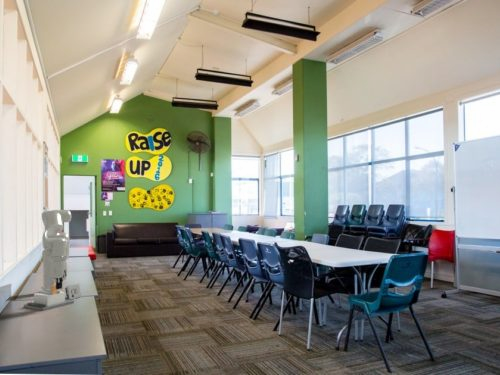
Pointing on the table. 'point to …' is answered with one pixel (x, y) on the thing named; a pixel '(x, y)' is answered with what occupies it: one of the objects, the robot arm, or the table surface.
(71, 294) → the electrical switch
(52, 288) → the handle
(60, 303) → the block
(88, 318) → the table surface
